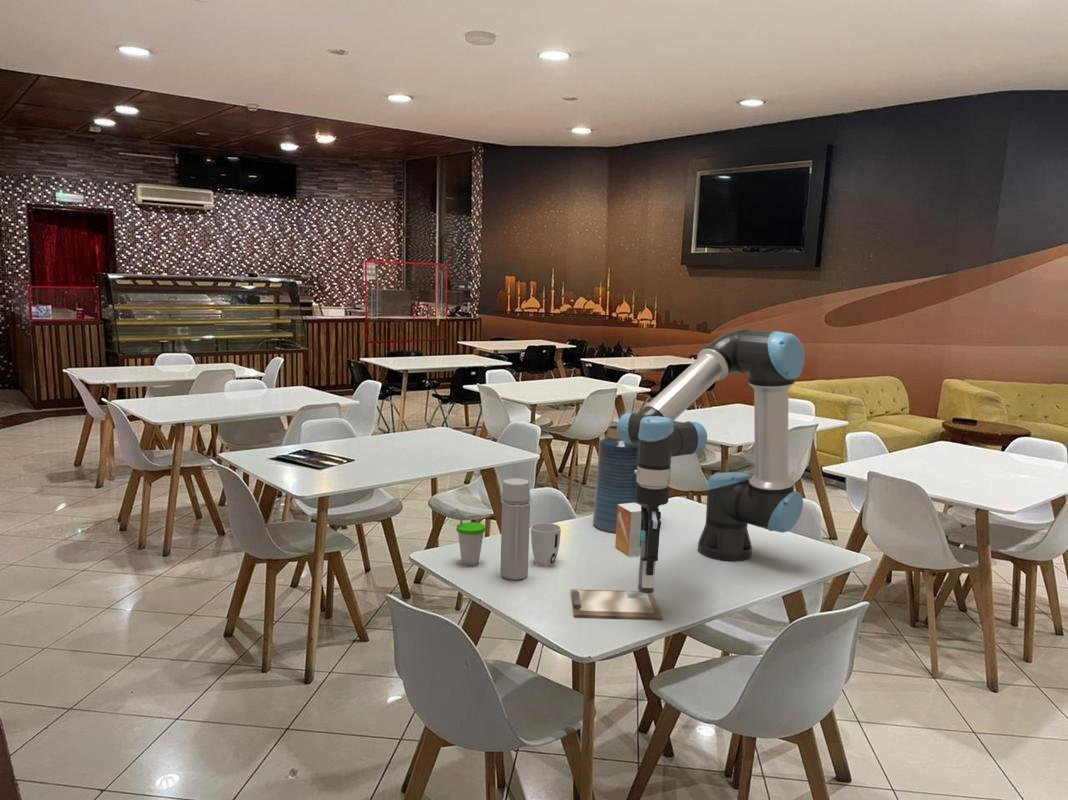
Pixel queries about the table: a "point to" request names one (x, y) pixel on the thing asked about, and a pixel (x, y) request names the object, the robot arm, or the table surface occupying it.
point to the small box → (628, 528)
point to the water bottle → (515, 528)
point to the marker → (642, 555)
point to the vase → (614, 479)
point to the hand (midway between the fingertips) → (646, 583)
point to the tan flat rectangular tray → (614, 604)
